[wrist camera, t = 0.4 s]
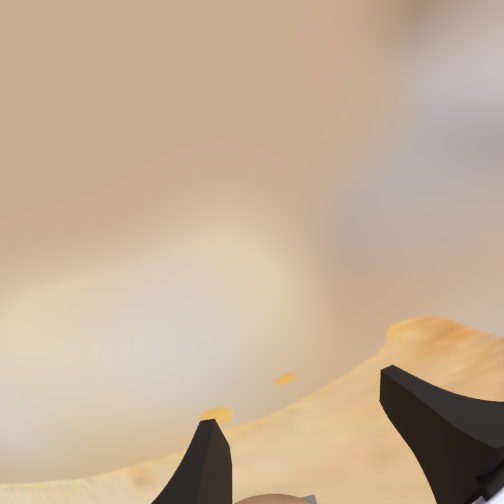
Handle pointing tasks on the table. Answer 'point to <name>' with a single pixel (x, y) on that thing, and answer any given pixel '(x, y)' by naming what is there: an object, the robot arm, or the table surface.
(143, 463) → the table surface
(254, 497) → the lid
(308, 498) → the mat
